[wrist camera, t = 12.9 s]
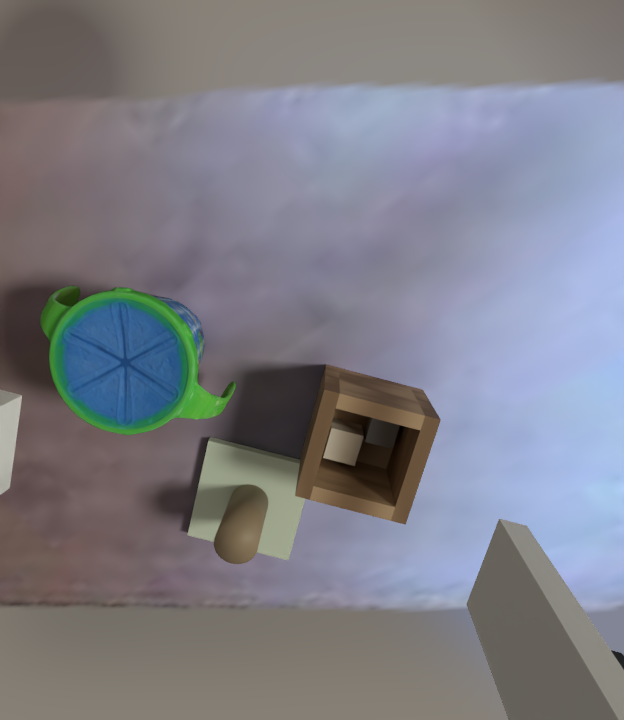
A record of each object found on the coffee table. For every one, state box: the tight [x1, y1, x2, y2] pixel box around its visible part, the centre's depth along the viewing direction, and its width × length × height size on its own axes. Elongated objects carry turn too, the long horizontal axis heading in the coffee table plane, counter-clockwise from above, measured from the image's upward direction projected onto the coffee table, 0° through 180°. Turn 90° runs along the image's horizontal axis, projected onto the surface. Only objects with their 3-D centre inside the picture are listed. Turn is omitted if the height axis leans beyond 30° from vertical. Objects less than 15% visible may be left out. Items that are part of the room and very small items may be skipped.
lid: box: [188, 437, 305, 564], centre depth 46 cm, size 10×10×8 cm
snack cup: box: [40, 286, 236, 435], centre depth 42 cm, size 16×10×10 cm
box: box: [295, 365, 440, 524], centre depth 44 cm, size 9×9×8 cm
